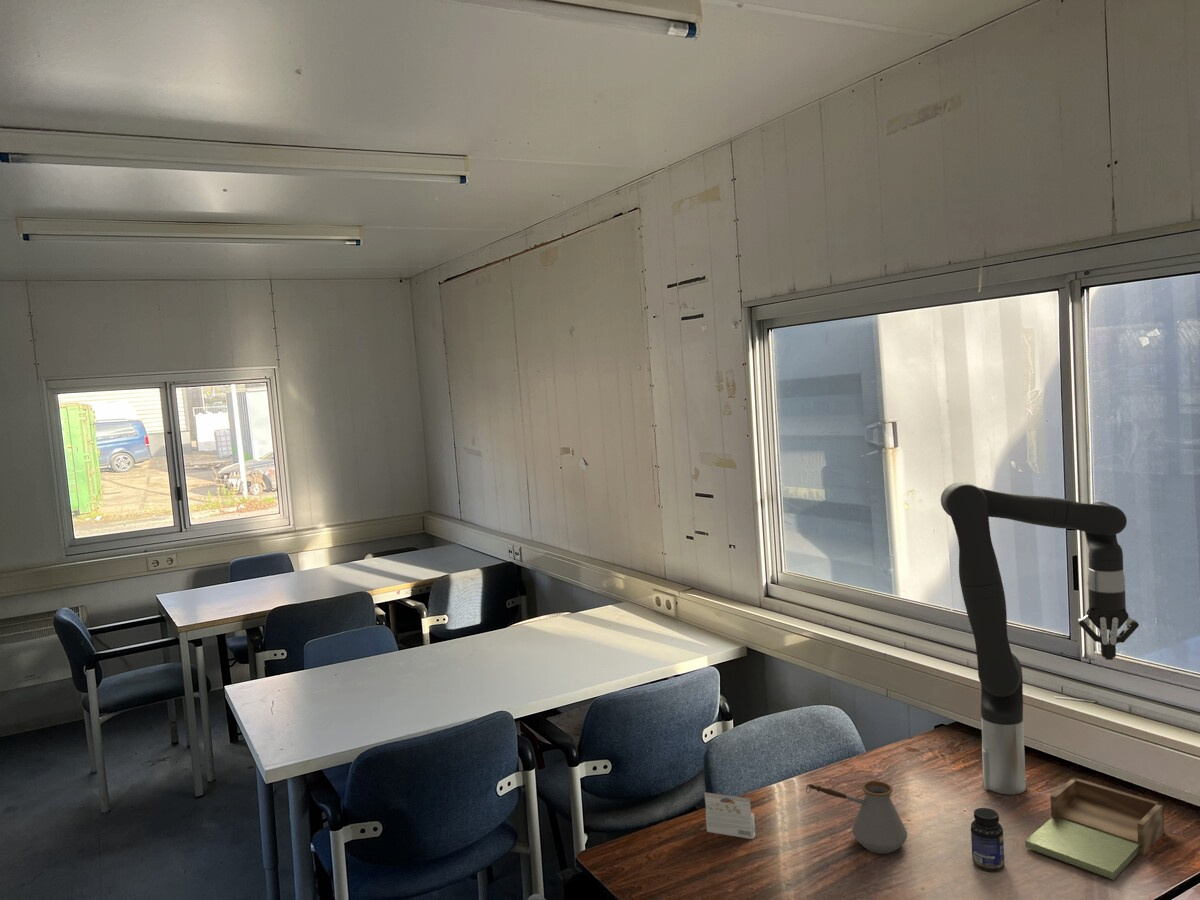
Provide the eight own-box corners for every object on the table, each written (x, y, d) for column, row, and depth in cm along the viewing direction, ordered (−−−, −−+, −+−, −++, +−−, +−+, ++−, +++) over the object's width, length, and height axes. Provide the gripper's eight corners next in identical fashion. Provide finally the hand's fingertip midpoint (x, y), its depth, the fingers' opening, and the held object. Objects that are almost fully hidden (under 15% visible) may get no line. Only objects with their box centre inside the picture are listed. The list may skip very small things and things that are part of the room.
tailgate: (1054, 815, 188) (1025, 840, 180) (1140, 844, 175) (1113, 872, 166) (1054, 822, 188) (1025, 847, 180) (1140, 851, 175) (1113, 879, 167)
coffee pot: (895, 828, 192) (892, 764, 191) (916, 855, 181) (913, 788, 180) (802, 836, 192) (798, 772, 190) (817, 865, 180) (813, 797, 179)
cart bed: (1074, 804, 197) (1073, 777, 196) (1164, 832, 182) (1163, 803, 182) (1051, 824, 189) (1050, 796, 189) (1143, 855, 175) (1142, 825, 174)
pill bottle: (1008, 873, 172) (1006, 821, 171) (976, 872, 174) (973, 820, 173) (1000, 856, 178) (998, 806, 177) (969, 855, 180) (967, 805, 179)
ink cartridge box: (709, 827, 199) (706, 787, 198) (756, 834, 194) (753, 793, 193) (706, 832, 197) (703, 791, 196) (753, 840, 192) (750, 798, 191)
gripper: (1077, 590, 199) (1079, 662, 201) (1142, 591, 195) (1144, 665, 196) (1072, 583, 206) (1074, 652, 208) (1135, 583, 202) (1137, 655, 203)
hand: (1108, 658), depth 202 cm, fingers closed
